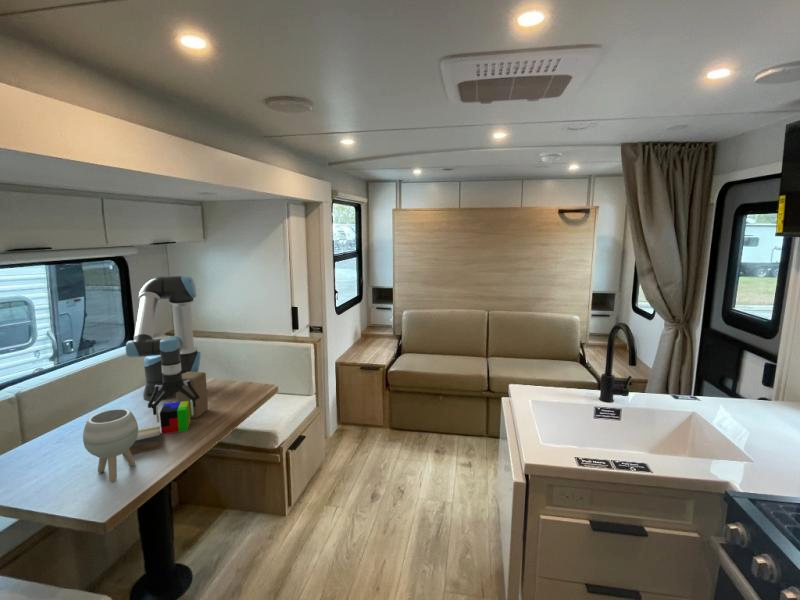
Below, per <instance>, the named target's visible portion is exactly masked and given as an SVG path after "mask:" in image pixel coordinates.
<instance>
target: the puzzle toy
mask: <svg viewBox="0 0 800 600" xmlns="http://www.w3.org/2000/svg"><path fill="white" fill-rule="evenodd" d="M159 422H160V433H161V435H164V434H165V433H166V434H171V433H172V434H173V433H177V432H178V433H180V432H185V431H186V432H187V431H188V430H189V427H190V422H191V418H190V411H189V401H183V402H177V401H175V402H167V403H164V404H163V405H162V408H161V410H160V412H159Z"/></svg>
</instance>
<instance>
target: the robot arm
mask: <svg viewBox="0 0 800 600" xmlns="http://www.w3.org/2000/svg"><path fill="white" fill-rule="evenodd" d="M196 297H197V291H196V285H195V281H194V279H193V278H192V277H191V276H188V275H187V276H186V275H176V276H175V275H173V276H155V277H154V278H152V279H150V280H148V281H147V282H146V283H145V284H144V285H143V286H142V288H141V289H140V290H139V292H138V297H137V298H138V301H139V305H138V311H137V318H136V322H135V327H134V334H133V340H128V341H127V342H126V344H125V354H126V356H127V357H128V358H142V357H144V359H143V363H144V364H143V367H144V376H145V385H144V389H143V393H142V396H143V397H142V398H143V399H144V400H145V401H148V403H147V408H148V409H152V414H153V416H156V423H160V414H159V406H158V405H159V404H160V403H161V402H162V400H165V399H168V398H171V397H172V396H175V394H176V393H177V392H179V391H180V392H181V393H183V394H184V395H186V396H187V397H188V398H190V399H191V400H190V404H191V414H192V415H194V414H193V407H195V406H196V404H195V400H196V399H199V398H200V397H199V395H198V393H197V392H196V391H195V389H194V388H193V387H192V385H191V383H190V380H187V381H184V382H183V381H182V374H184V373H186V372H200V363H201V351H198V348H197V347H195V345H194V343H195V342H194V331H193V321H192V307H191V305H192V303H193V302H194V299H195V298H196ZM161 300H168V303H169V304H170V305H172V307H171V308H172V316H173V317H172V318H173V327H174V328H173V331H174V335H172V336H170V337H165V338H154V334H155V333H154V332H155V325H156V318H157V312H158V306H159V305H158V304H160V303H161ZM184 384H185V385H186V386H188V387H189V388H190V390H191V391H192V393H193V394H194V395H195V397H194V396H192V395H191V394H190V393H188V392H187V391H186V390H184V389H183V388H182V386H183V385H184Z"/></svg>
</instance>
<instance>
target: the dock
mask: <svg viewBox="0 0 800 600" xmlns="http://www.w3.org/2000/svg"><path fill="white" fill-rule="evenodd" d="M160 448H162V438H161V425H155V426H149V427H146V428H140V429H138V436H137V439H136V441H135V442H134V444H133V445H132V446H131V447H130V448H129V449H130V452H131V454H132V455H135V454H139V453H144V452H148V451H152V450H156V449H160Z"/></svg>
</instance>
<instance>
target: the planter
mask: <svg viewBox="0 0 800 600" xmlns="http://www.w3.org/2000/svg"><path fill="white" fill-rule="evenodd" d="M138 430H139V425H138V421H137V419H136V417H135V415H134V414H133V412H132V411H131V410H130V409H127V408H111V409H107V410H102V411H100V412H97V413H95V414H93V415H91V416H90V417H89V418H88V419H87V421H86V423H85V425H84V428H83V433H82V441H83V446H84V448H85V450H86V451H87V452H88V453H89V454H90V455H92V456H95V457H97V458H99V459H98V466H97V472H98V473H99V474H100V473H103V472H104V471H105V469H106V465H107V467H108V468H107V469H108V479H109V480H108V481H109V482H111V483H113V482H115V481H117V480H118V479H117V477H118V473H117V471H118V470H117V469H118V466H117V465H118V463H117V457H118V456H120V455H122V456H123V458H124V459H125V461H126V462H127V464H128V465H129V466H130V467H134V466H135V465H136V459H134V456H133V454H131V452H130V449H129V448H130V447H131V446H132V445H133V444H134V442H135V441H136V439H137V436H138Z"/></svg>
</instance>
